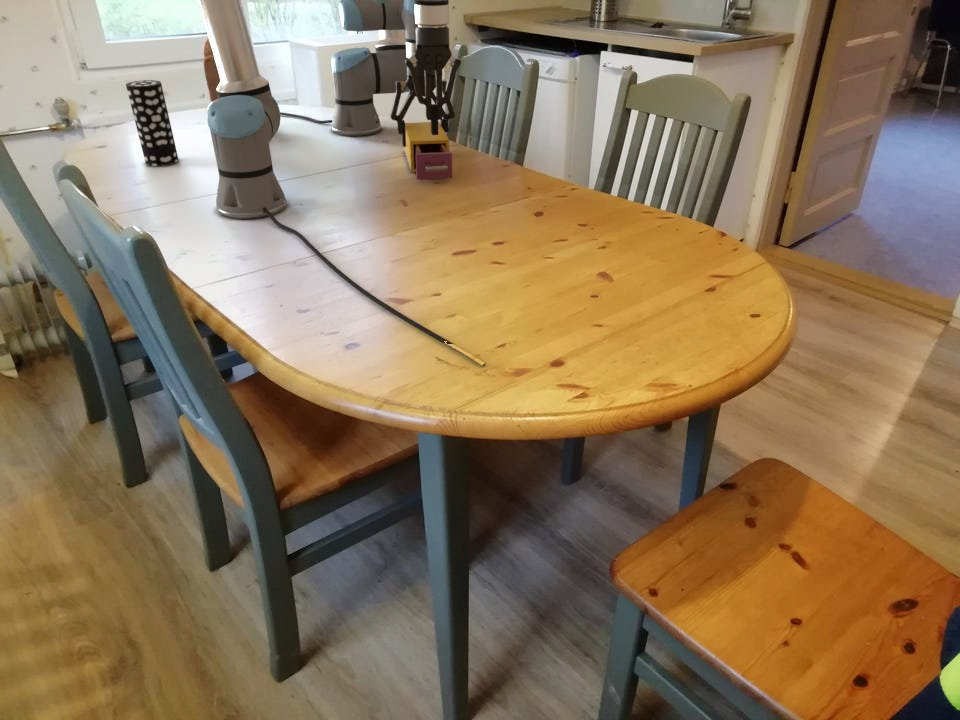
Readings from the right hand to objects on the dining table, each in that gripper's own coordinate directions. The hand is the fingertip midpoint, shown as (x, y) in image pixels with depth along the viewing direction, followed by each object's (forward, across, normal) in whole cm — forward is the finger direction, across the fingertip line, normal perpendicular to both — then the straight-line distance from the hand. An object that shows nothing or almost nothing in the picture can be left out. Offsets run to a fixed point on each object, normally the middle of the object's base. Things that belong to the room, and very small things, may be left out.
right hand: (423, 144), depth 193 cm
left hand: (-10, 0, +26) cm, 28 cm away
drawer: (+2, 0, +18) cm, 18 cm away
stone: (+3, +55, -33) cm, 64 cm away
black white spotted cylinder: (-7, +71, -4) cm, 71 cm away
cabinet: (+3, 0, +5) cm, 6 cm away
